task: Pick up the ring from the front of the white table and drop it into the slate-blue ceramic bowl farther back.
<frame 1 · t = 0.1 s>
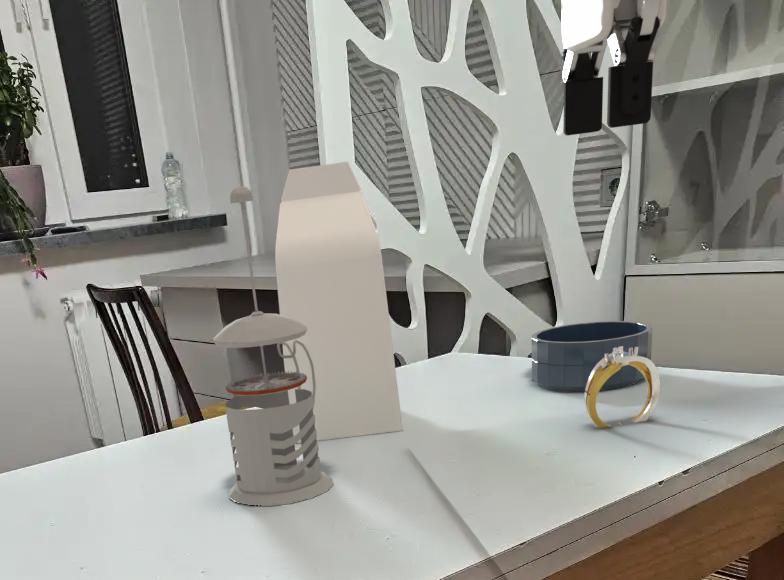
hand: (604, 129, 74), 26 cm above the table, tool pointing down, fingers open, 9 cm apart
bowl: (589, 379, 107), on the table
milk: (344, 426, 102), on the table
french press: (286, 487, 84), on the table
ring: (620, 436, 86), on the table
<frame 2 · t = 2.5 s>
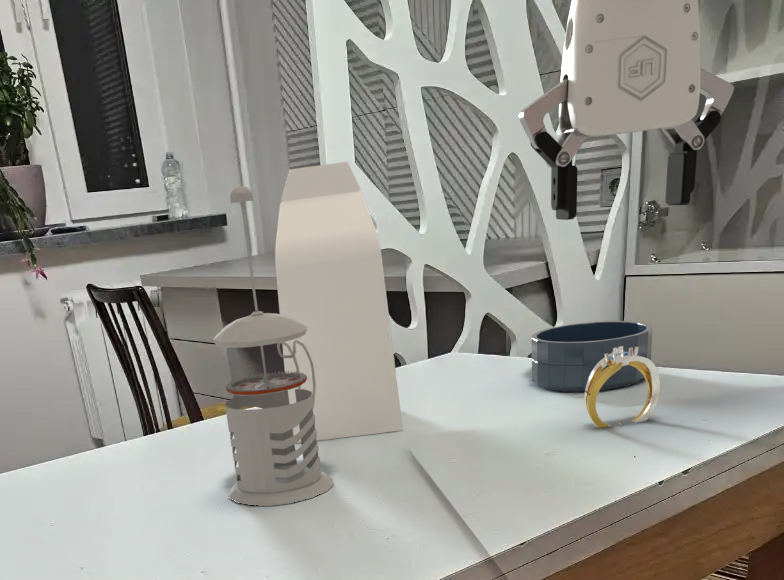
hand: (621, 211, 77), 19 cm above the table, tool pointing down, fingers open, 9 cm apart
nothing on the table moved.
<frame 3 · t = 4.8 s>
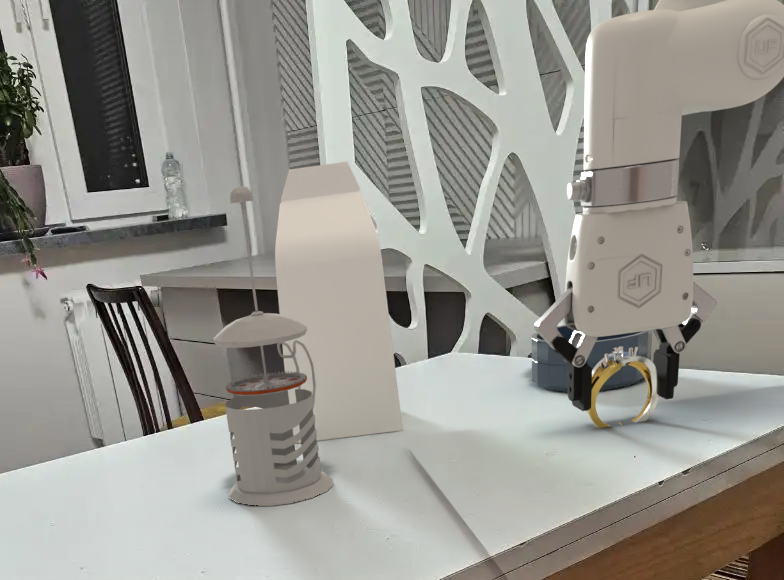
hand: (621, 400, 84), 3 cm above the table, tool pointing down, fingers closed on ring, 7 cm apart
ring: (620, 436, 86), on the table, touching gripper
everything else where it was.
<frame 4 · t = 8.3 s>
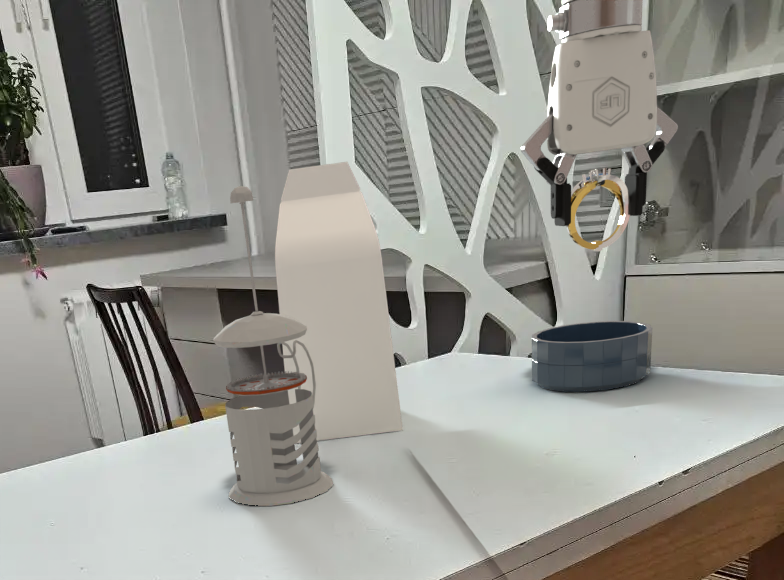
hand: (597, 218, 97), 18 cm above the table, tool pointing down, fingers closed on ring, 7 cm apart
ring: (597, 253, 98), point 14 cm above the table, touching gripper
everything else where it was.
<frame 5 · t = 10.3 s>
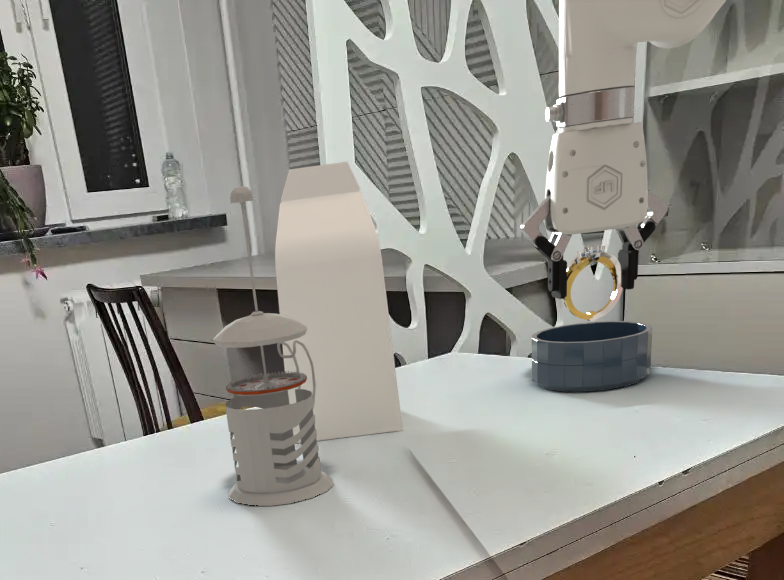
hand: (592, 291, 103), 10 cm above the table, tool pointing down, fingers closed on ring, 7 cm apart
ring: (591, 322, 104), point 6 cm above the table, touching gripper
everything else where it was.
when the fingers open (6 cm above the table, at t = 12.0 s): ring drops 2 cm, resting on bowl.
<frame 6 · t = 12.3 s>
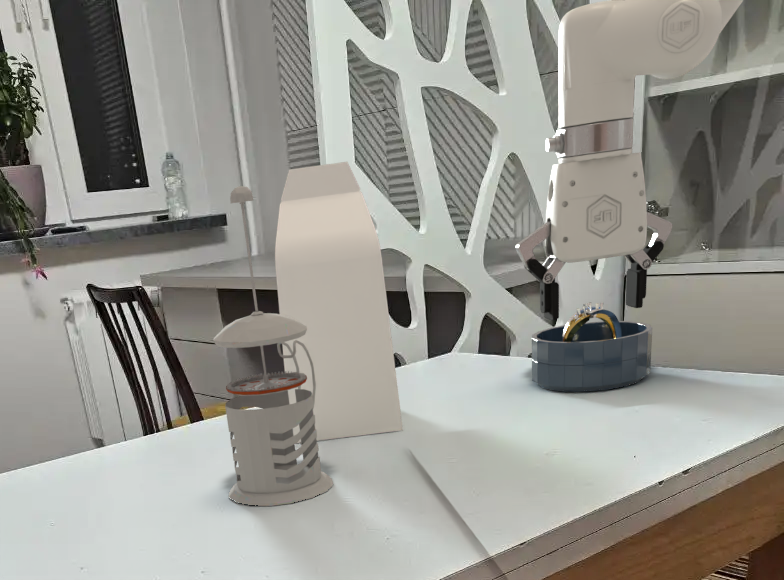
hand: (592, 312, 104), 8 cm above the table, tool pointing down, fingers open, 9 cm apart
ring: (591, 375, 107), resting on bowl
everything else where it was.
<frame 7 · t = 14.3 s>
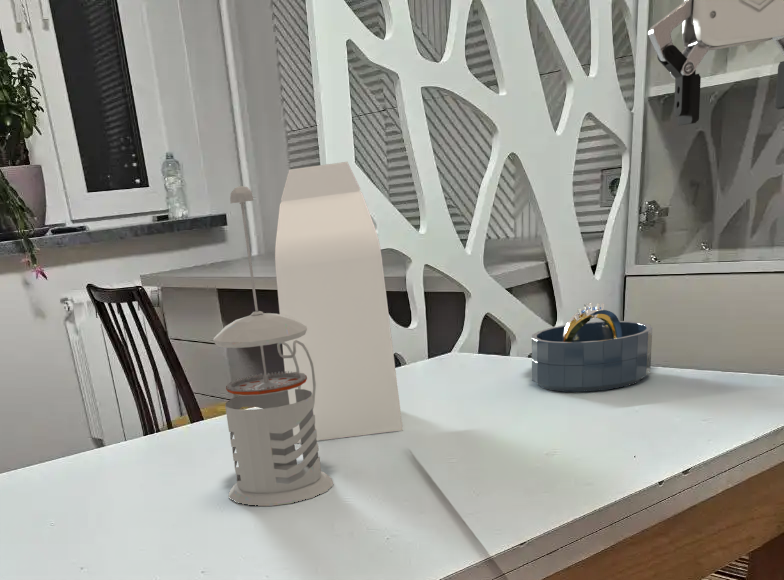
hand: (737, 116, 87), 25 cm above the table, tool pointing down, fingers open, 9 cm apart
nothing on the table moved.
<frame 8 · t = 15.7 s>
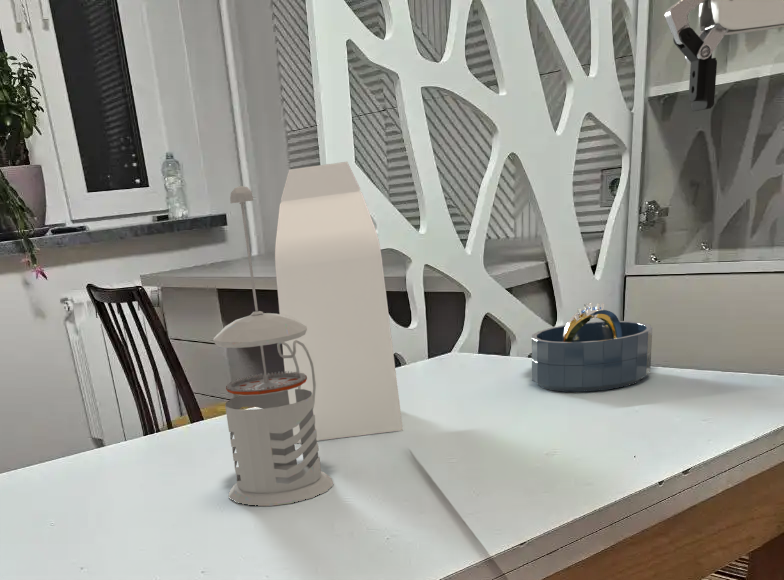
hand: (752, 103, 86), 26 cm above the table, tool pointing down, fingers open, 9 cm apart
nothing on the table moved.
at the end: ring inside the target area in the bowl (0.1 cm from its centre), point 0.4 cm above the bowl's base; the gripper is holding nothing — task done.
